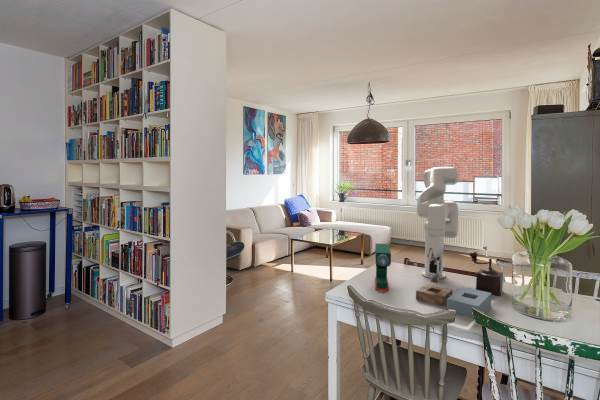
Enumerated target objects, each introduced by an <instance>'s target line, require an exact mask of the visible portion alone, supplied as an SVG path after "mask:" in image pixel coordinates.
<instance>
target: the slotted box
mask: <svg viewBox="0 0 600 400" xmlns="http://www.w3.org/2000/svg"><path fill="white" fill-rule="evenodd" d="M472 307H475V308H476V309H478V310H480V311H482V312H484V314H486V313H487V311H488V310H489V309H490V308H491V307H492V295H491V293H489V292H484V291H480V290H476V288H471V287H465V286H462V287H460V288H459V289H458V290H456V291H455V292H454V293H452V295H451V296H450V297H449V298H447V303H446V310H448V309H454V310H456V313H455V314H458V315H462V316H466V317H470V318H473V314H472Z"/></svg>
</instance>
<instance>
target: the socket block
mask: <svg viewBox="0 0 600 400" xmlns="http://www.w3.org/2000/svg"><path fill="white" fill-rule="evenodd" d="M453 291H454V290H453V289H451V288H445V287H443V286H442V287H441V286H438V285H431V284H429V283H427V284H424V285H422V286H421V287H420V288H417V289H416V290H415V300H417V301H422V302H425V303H429V304H433V305H436V306H437V305H438V306H441V307H443V306H445V305H447V298H449V297H450V296H451V295H453V294H454V293H453Z"/></svg>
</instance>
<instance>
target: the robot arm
mask: <svg viewBox="0 0 600 400" xmlns="http://www.w3.org/2000/svg"><path fill="white" fill-rule="evenodd" d="M459 174H460V173H459V170H458V168H456V167H454V166H444V167H443V166H440V167H439V166H438V167H432V168H429V169H426V170H425V171H423V173H422V181H423V183H424V187H425V189H424V190H422V191H421V193H420V194H419V195H418V196H417V203H416V213H417V216H418V217H419V218H423V219H427V221H425V222H424V224H423V225H424V226H423V230H424V241H425V242H424V243H425V244H424V245H425V246H424V251H425V252H424V270H423V271H421V276H423V277H424V278H425V277H426V278H427V279H428V278H430V277H431V273H437V265H436V261H437V259H438V260H439V279H444V278H446V276H447V275H446V273H445V272H443V270H444V251H445V250H444V249H445V243H444V242H445V241H444V240H445V239H446V238H447V239H455V238H457V237H458V235H459V206H458V203H457V202H456V201H453V200H445V199H444V197H445V193H446V191H447V186H452V185H453V186H455V185H456V184H457V183H458V181H459ZM446 219H448V220H446ZM433 259H434V260H433Z"/></svg>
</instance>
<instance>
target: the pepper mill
mask: <svg viewBox="0 0 600 400" xmlns="http://www.w3.org/2000/svg"><path fill="white" fill-rule="evenodd" d="M478 256H479V254H478V253H477V252H476V251H471V252H469V257H470V258H471V261H472V262H473V263H474V264H475V265H476V264H477V265H487V264H488V267H487V268H485V269H484V268H483V269H482V268H481V269H480V270H478V272H477V273H476V275H475V276H476V279H475V280H476V282H475V283H476V284H475V290H480V291H484V292H489V293H491V297H493V296H494V297H498V296H499V297H500V296H501V295H502V294H503V283H504V272H501V271H497V270H496V269H494V268H493V267H492V264H493V260H492V258H489V259H488V261H486V262H485V261H483V262H482V261H481V262H480V261H479V262H478ZM501 293H502V294H501Z"/></svg>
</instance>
